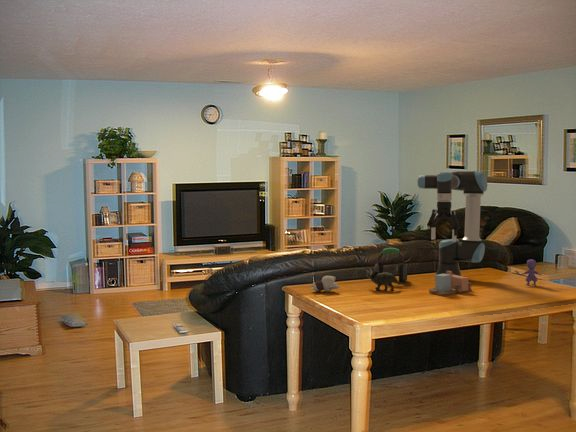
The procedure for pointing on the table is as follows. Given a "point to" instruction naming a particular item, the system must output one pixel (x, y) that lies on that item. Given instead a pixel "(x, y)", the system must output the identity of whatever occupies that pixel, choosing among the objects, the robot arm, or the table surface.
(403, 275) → the headphones
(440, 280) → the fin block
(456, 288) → the jig
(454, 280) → the pink slab with ridge
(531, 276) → the toy
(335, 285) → the toy
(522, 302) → the table surface
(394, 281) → the dinosaur figurine
